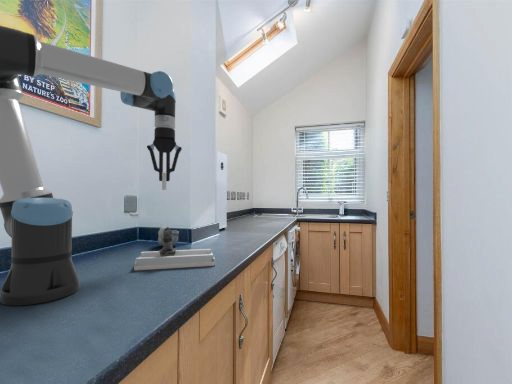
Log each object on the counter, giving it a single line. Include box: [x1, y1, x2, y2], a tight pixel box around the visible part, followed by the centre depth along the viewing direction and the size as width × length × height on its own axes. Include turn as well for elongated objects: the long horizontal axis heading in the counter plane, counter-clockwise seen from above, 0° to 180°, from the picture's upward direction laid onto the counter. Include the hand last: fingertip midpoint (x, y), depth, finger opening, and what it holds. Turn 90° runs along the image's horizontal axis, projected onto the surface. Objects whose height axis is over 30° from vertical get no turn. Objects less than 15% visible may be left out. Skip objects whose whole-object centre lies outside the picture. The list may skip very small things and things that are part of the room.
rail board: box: [133, 248, 216, 271], centre depth 97 cm, size 26×12×4 cm, turn 105°
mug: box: [157, 226, 180, 247], centre depth 128 cm, size 10×12×10 cm
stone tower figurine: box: [158, 226, 177, 257], centre depth 96 cm, size 6×6×12 cm
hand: (164, 189), depth 105 cm, fingers closed
